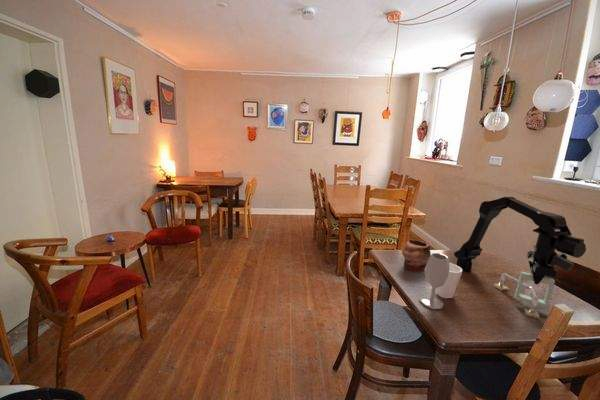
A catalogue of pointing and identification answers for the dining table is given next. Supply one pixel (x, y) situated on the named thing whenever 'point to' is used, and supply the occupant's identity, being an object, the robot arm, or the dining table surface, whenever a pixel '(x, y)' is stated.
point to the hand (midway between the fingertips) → (535, 282)
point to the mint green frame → (529, 299)
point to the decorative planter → (416, 255)
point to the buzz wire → (531, 311)
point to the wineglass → (435, 278)
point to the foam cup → (450, 282)
